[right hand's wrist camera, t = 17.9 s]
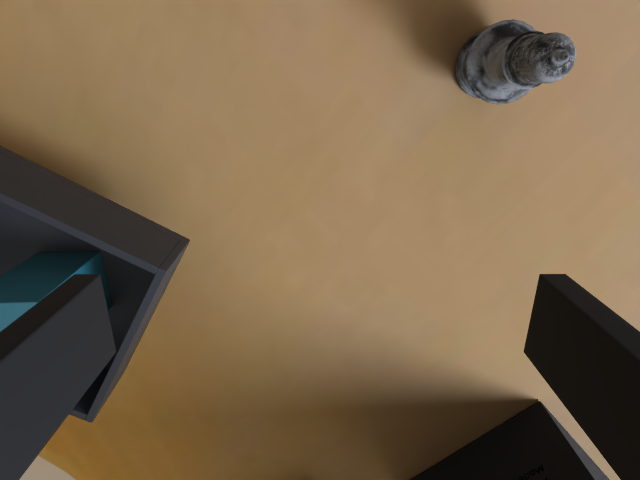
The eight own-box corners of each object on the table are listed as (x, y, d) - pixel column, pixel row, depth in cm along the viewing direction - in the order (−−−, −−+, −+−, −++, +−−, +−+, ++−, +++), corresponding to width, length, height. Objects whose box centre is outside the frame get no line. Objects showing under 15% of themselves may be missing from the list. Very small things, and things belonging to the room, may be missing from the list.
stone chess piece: (478, 117, 36) (549, 132, 25) (438, 62, 35) (494, 52, 23) (536, 68, 35) (640, 60, 23) (497, 9, 33) (588, -30, 22)
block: (36, 252, 33) (-44, 304, 25) (100, 251, 33) (38, 301, 25) (52, 307, 34) (-19, 371, 27) (113, 306, 35) (58, 368, 27)
